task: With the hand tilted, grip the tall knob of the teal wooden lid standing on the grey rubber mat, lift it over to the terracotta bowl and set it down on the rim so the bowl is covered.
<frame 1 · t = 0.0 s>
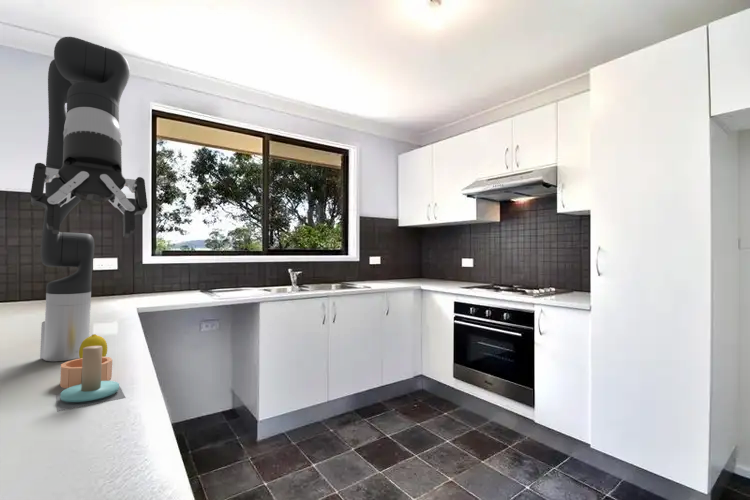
hand: (92, 233, 55), 31 cm above the countertop, tool tilted 20°, fingers open, 8 cm apart
lid: (90, 395, 70), resting on mat
mat: (90, 397, 70), on the countertop
lemon: (92, 367, 89), on the countertop
bowl: (86, 382, 78), on the countertop
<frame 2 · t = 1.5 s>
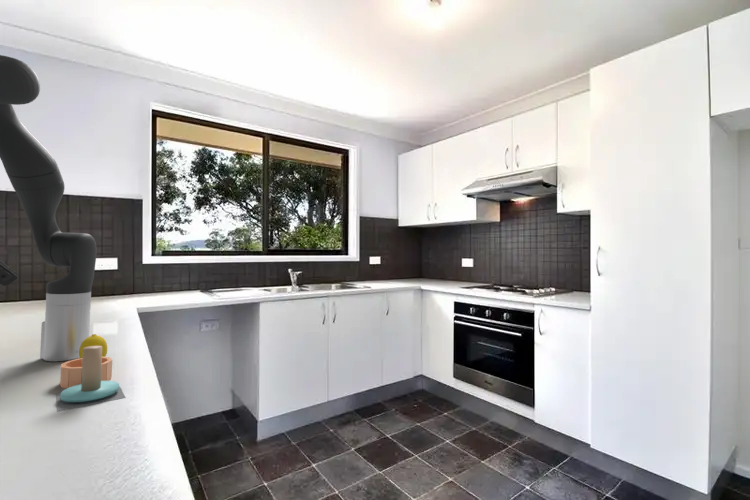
hand: (12, 280, 63), 23 cm above the countertop, tool tilted 45°, fingers open, 8 cm apart
nothing on the countertop moved.
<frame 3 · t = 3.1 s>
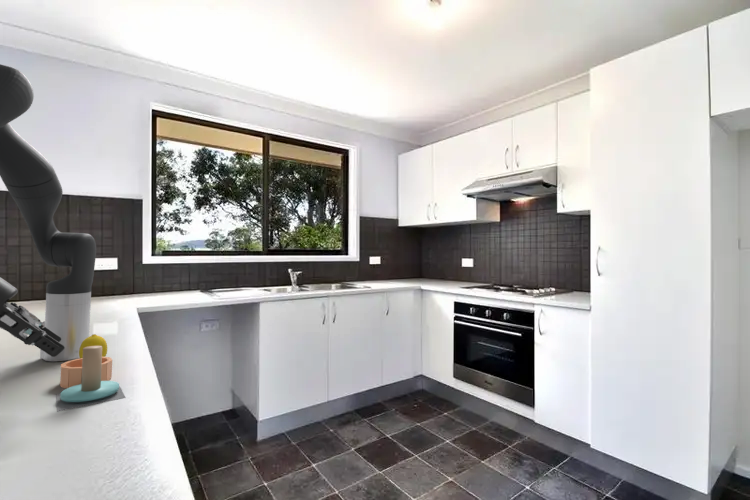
hand: (58, 347, 67), 11 cm above the countertop, tool tilted 45°, fingers open, 8 cm apart
nothing on the countertop moved.
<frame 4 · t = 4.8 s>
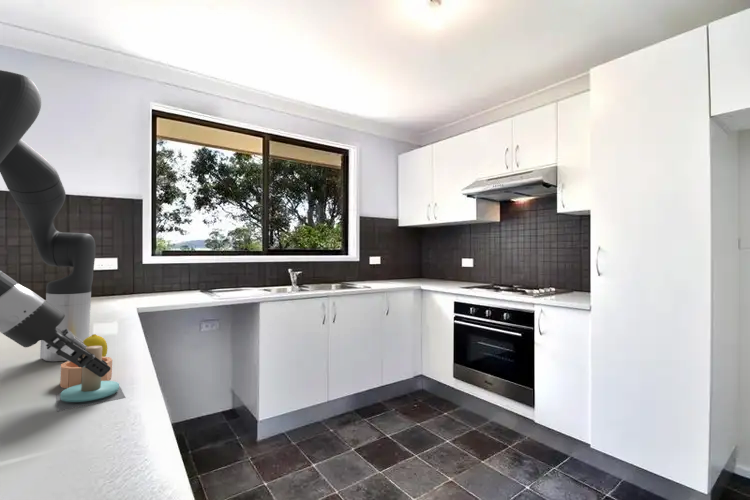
hand: (104, 370, 72), 5 cm above the countertop, tool tilted 45°, fingers closed on lid, 3 cm apart
lid: (90, 395, 70), resting on mat, touching gripper
everything else where it was.
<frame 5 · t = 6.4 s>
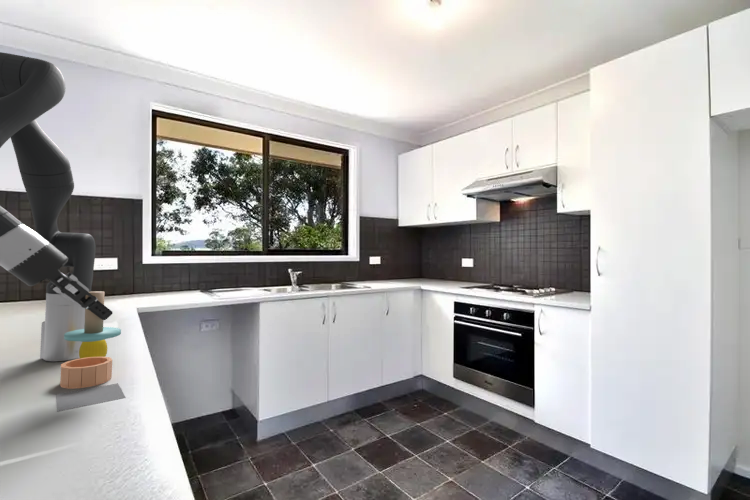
hand: (106, 315, 74), 16 cm above the countertop, tool tilted 45°, fingers closed on lid, 3 cm apart
lid: (93, 338, 73), point 11 cm above the countertop, touching gripper
everything else where it was.
when the fingers open (10 cm above the countertop, at t = 8.3 s): lid drops 1 cm, resting on bowl.
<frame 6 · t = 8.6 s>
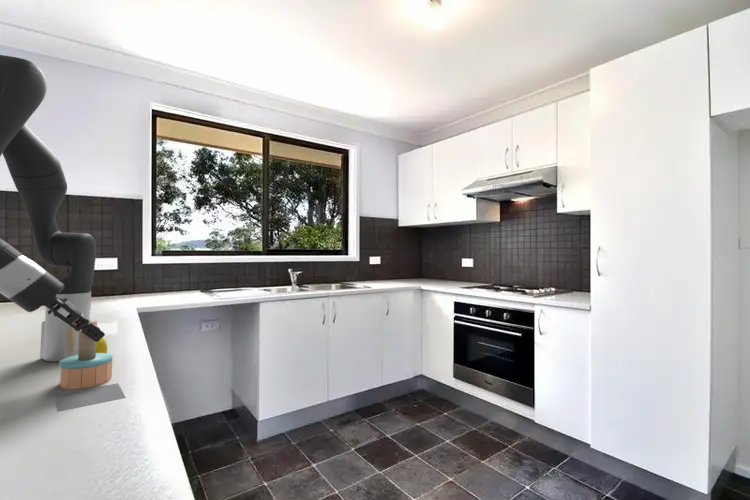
hand: (98, 335, 80), 10 cm above the countertop, tool tilted 45°, fingers open, 5 cm apart
lid: (86, 365, 78), point 4 cm above the countertop, touching bowl
everything else where it was.
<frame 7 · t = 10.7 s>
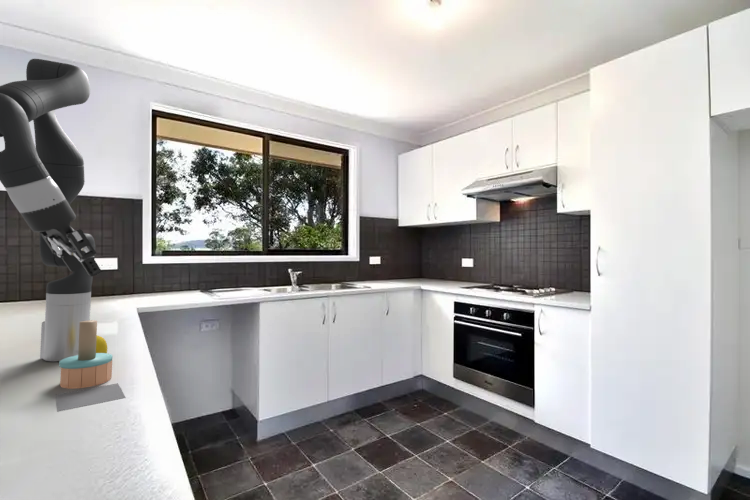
hand: (86, 271, 79), 24 cm above the countertop, tool tilted 30°, fingers open, 8 cm apart
nothing on the countertop moved.
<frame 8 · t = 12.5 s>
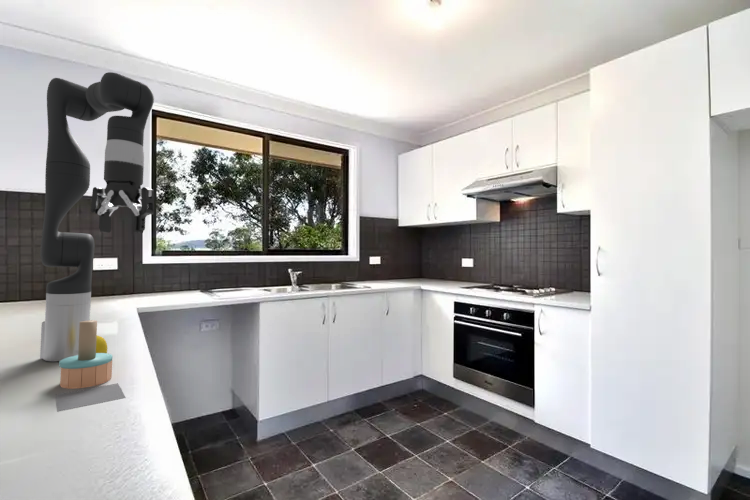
hand: (121, 232, 84), 33 cm above the countertop, tool pointing down, fingers open, 8 cm apart
nothing on the countertop moved.
at the end: lid 0.1 cm off-centre on the bowl, point 3.9 cm above the bowl's base; lid tilted 0°; the gripper is holding nothing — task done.
